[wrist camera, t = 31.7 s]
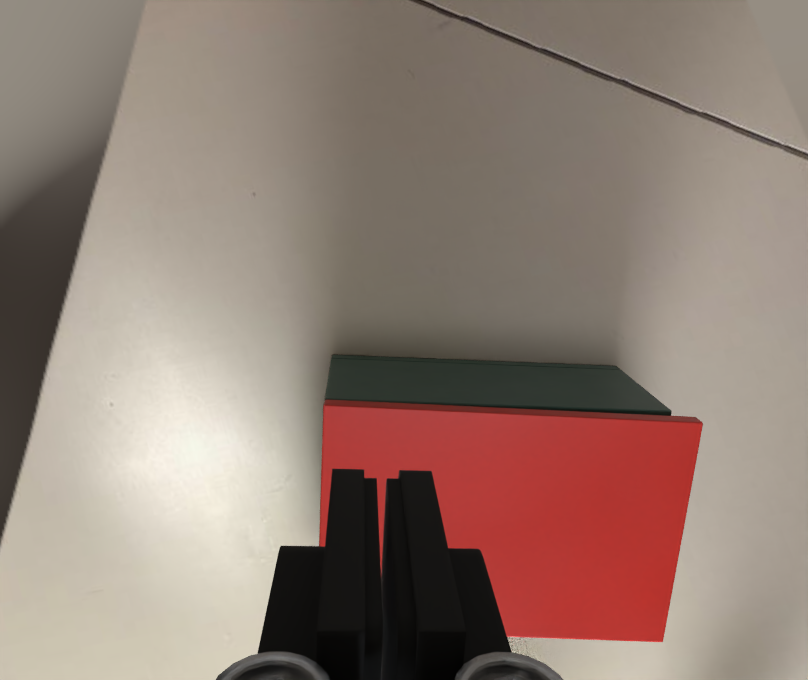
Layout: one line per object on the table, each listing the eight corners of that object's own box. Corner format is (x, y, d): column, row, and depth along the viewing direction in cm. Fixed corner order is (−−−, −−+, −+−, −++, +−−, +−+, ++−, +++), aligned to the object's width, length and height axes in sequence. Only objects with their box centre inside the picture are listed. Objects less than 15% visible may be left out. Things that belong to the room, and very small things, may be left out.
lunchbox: (616, 365, 42) (672, 410, 34) (590, 545, 45) (635, 623, 37) (331, 354, 40) (324, 398, 33) (325, 540, 44) (317, 619, 36)
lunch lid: (695, 416, 34) (703, 422, 33) (657, 632, 37) (663, 642, 36) (324, 399, 33) (323, 404, 32) (318, 620, 36) (316, 630, 35)
